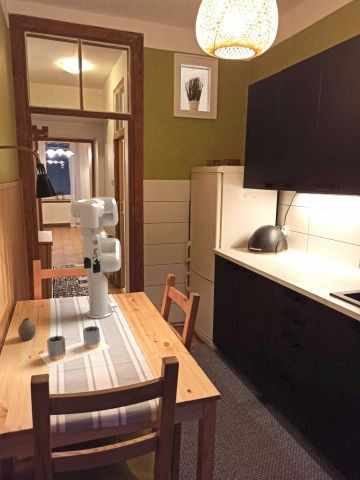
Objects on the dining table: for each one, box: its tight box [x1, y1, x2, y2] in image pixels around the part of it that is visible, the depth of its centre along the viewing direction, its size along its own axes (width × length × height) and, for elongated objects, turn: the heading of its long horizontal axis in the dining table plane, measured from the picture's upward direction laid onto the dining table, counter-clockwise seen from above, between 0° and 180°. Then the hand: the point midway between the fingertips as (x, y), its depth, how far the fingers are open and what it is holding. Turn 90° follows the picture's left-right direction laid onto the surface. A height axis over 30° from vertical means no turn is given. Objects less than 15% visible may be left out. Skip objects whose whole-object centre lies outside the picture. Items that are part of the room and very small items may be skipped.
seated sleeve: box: [46, 335, 66, 361], centre depth 131 cm, size 6×6×7 cm
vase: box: [17, 317, 37, 341], centre depth 150 cm, size 7×7×9 cm
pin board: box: [38, 331, 111, 368], centre depth 135 cm, size 24×12×8 cm, turn 127°
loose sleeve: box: [82, 325, 101, 349], centre depth 139 cm, size 6×6×7 cm
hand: (92, 270), depth 152 cm, fingers open, 9 cm apart
